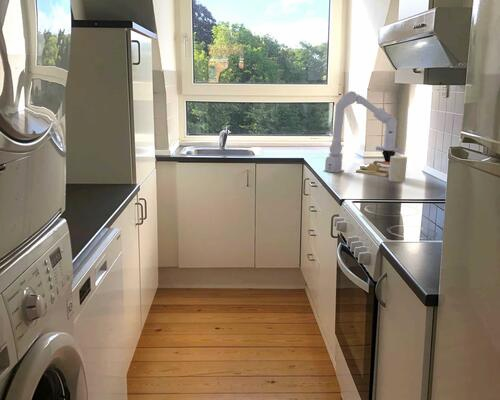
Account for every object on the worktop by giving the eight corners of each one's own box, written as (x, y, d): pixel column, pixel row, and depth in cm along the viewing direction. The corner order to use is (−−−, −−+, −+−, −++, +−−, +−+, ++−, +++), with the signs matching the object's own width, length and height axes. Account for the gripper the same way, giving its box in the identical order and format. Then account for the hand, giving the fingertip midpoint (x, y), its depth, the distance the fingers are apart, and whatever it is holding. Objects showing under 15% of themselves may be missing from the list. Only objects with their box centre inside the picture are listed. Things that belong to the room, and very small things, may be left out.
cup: (393, 182, 281) (395, 158, 278) (385, 179, 289) (387, 156, 286) (408, 181, 283) (410, 158, 281) (399, 178, 291) (401, 155, 288)
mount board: (384, 176, 297) (385, 174, 297) (355, 172, 307) (355, 170, 307) (392, 174, 305) (392, 171, 305) (363, 170, 315) (364, 168, 314)
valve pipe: (386, 174, 299) (387, 166, 299) (359, 170, 309) (359, 162, 308) (389, 173, 303) (390, 165, 302) (362, 169, 312) (362, 162, 311)
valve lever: (372, 163, 305) (372, 160, 304) (374, 163, 306) (374, 159, 306) (392, 166, 297) (392, 162, 296) (394, 166, 299) (394, 162, 298)
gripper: (405, 140, 299) (403, 165, 301) (380, 137, 307) (378, 162, 310) (400, 141, 293) (398, 166, 296) (374, 138, 301) (372, 163, 304)
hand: (387, 164), depth 303 cm, fingers closed
